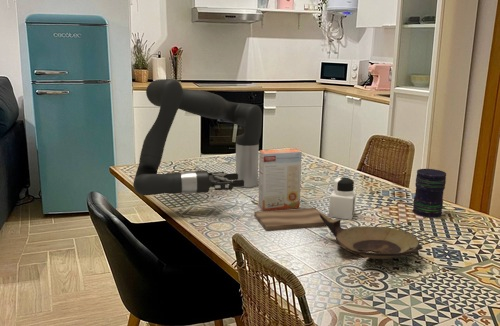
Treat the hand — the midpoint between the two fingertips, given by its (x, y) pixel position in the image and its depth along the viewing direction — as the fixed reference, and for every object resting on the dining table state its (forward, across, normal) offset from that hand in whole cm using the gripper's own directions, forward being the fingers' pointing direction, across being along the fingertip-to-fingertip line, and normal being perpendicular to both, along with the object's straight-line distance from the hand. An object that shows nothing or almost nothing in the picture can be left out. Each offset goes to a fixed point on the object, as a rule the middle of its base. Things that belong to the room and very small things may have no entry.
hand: (240, 179), depth 173 cm
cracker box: (+14, 0, +11) cm, 18 cm away
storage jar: (+64, -16, +11) cm, 67 cm away
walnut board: (+14, -14, +11) cm, 23 cm away
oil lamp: (+28, -41, +11) cm, 51 cm away
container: (+33, -12, +11) cm, 37 cm away
